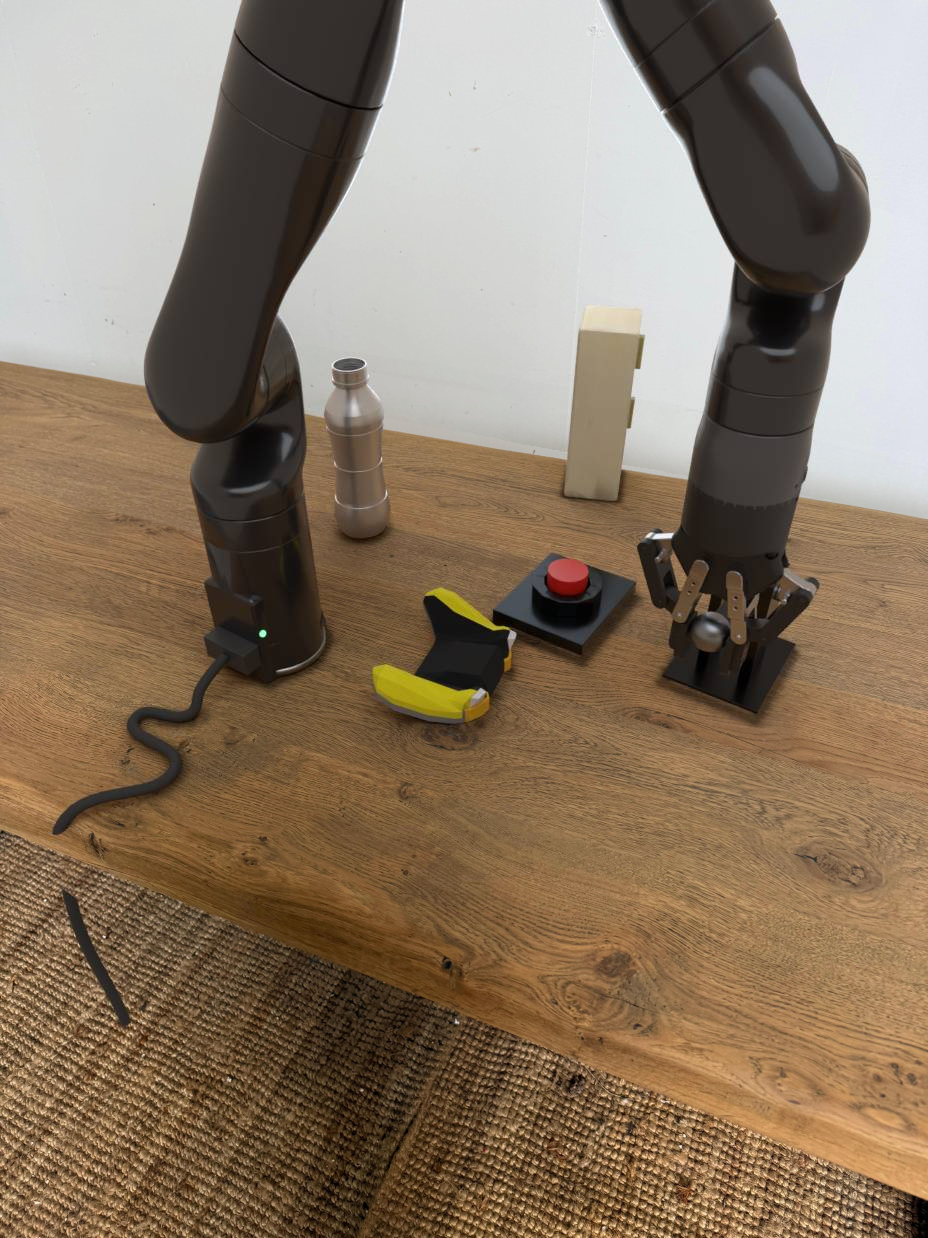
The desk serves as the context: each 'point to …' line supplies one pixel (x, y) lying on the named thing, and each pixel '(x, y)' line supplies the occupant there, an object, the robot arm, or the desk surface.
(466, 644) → the gaming controller
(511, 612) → the control box
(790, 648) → the switch bracket
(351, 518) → the silver metal bottle
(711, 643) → the switch lever
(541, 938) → the desk surface
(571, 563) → the button
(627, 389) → the toy refrigerator
